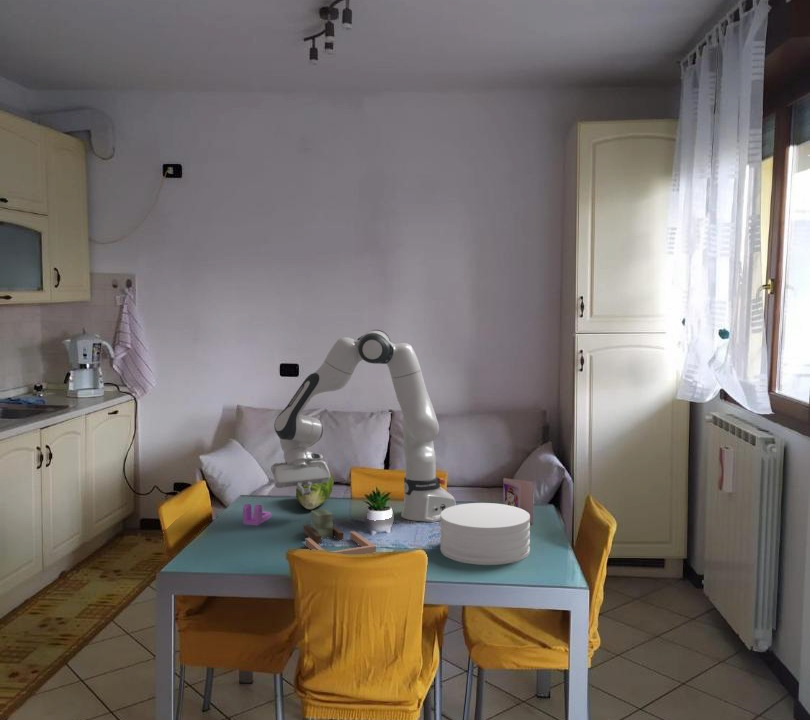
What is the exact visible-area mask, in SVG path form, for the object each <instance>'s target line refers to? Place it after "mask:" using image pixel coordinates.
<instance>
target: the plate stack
mask: <svg viewBox="0 0 810 720" xmlns="http://www.w3.org/2000/svg"><path fill="white" fill-rule="evenodd" d="M440 519H441V520H440V521H439V523H440V525H439V527H440V533H439V534H440V535H439V536H440V549H439V550H440V552H441V554H442V555H443V556H445V557H446V558H448V559H451V560H453V561H456V562H459V563H464V564H470V565H480V566H482V565H483V566H492V565H493V566H496V565H507V564H512V563H516V562H520V561H522V560H524V559H526V558H527V557H528V556H530V552H531V547H530V545H531V539H530V538H531V531H530V530H531V524H530V523H529V522H530V515H529V513H528V512H526V511H525V510H523V509H520V508H518V507H514V506H510V505H504V504H503V503H493V502H492V503H491V502H472V503H471V502H470V503H460V504H456V505H455V506H452V507H449V508H446V509H444V510H443V511H442V512H441V514H440Z"/></svg>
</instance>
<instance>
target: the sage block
mask: <svg viewBox="0 0 810 720" xmlns="http://www.w3.org/2000/svg"><path fill="white" fill-rule="evenodd" d="M310 515H311V516H310V517H311V518H310V519H311V521H310V522H311V526H310V527H311V528H312V529H313V530H315V531H316V532H317V533H318V534H319V535H321V538H326V539H328V538H327V537H333V538H334V536H333V525H334V524H333V513H332V512H330V511H329V510H328V509H326V508H322V509H312V510H310Z"/></svg>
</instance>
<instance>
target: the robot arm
mask: <svg viewBox="0 0 810 720" xmlns="http://www.w3.org/2000/svg"><path fill="white" fill-rule="evenodd" d="M361 361H364V362H366V363H369V364H379V365H382V364H383V365H386V366H387V368H388V371H389V373H390V378H391V381H392V384H393V388H394V391H395V395H396V398H397V402H398V405H399V407H400V410H401V413H402V418H401V419H402V436H403V448H404V449H403V450H404V458H405V459H404V464H405V466H404V468H405V469H404V470H405V471H404V477H403V479H404V480H403V489H404V491H403V492H404V499H403V505H402V510H401V514H400V516H401V518H403V519H406V520H409V521H418V522H427V523H435V522H441V519H440V514H441V512H442V511H443V510H444V509H446V508H449V507H452V506H455V505H457V503H456V499H455V497H454V496H453V495H452V494H451V493H449V492H448V490H445V489H444V488H443V487H441V485H445V484H446V482H447V481H446V479H445V478H442V477H441V478H439V477H437V475H436V474H437V470H436V468H437V467H436V465H437V463H436V461H437V458H436V451H435V444H434V440H436V438H437V437H438V435H439V432H440V425H439V421H438V418H437V417H438V416H437V415H436V412H435V409H434V406H433V403H432V401H431V398H430V395H429V392H428V390H427V386H426V383H425V379H424V375H423V372H422V368H421V365H420V361H419V358H418V357H417V354H416V351H415V350H414V348H413V346H412V345H411V344H410V343H407V342H397V343H393V342H391V339H390V337H389V335H388V334H387V333H386V332H384V331H383V330H381V329H380V330H379V329H371V330H370V331H367V332H366V333H364V334H363V335H361V336H360V337H359V338H357V339H353V338H352V337H348V336H347V337H346V336H342V337H340V338H339V339H337V341H336V342H334V344H333V346H332V347H331V348H330V350H329V352H328V353H327V355H326V357H325V359H324V361H323V363H322V364H321V365H320V367H319V368H318V369H317V370H316V371H315V372H313V373H311V374H309V375H308V376H307V377H306V378H305V379H304V380H303V382H302V383H301V385H300V386H299V388H298V389H297V391H296V392H295V393H294V395H293V396H292V397H291V399H290V400H289V402H288V404H287V405H286V406H285V408H284V409H283V410H281V412H280V413H279V414H278V415H277V417H276V418H275V421H274V425H273V427H274V431H275V433H276V435H277V436H278V438H279V444H280V447H281V449H282V452H283V458H284V462H280V463H279V462H278V463H274V464H272V465H271V467H270V472H271V473H272V475H273V483H274V487H275V488H277V489H281V488H282V489H283V488H290V487H296V488H297V489H298V490H299V491H301V493H302V495H310V494H311V490H310V488H311V485H312V484H319V483H327V482H328V481H329V479H330V476H331V475H332V474H331V475H330V473H331V472H330V470H329V466H328V465H327V462H325V460H323V459H324V456H323V454H321V453H317V452H316V453H315V452H312V451H308V448H310V447H312V446H313V445H315V444H317V442H319V441H320V440H321V438H322V437H323V433H324V429H323V428H324V427H323V423H322V422H321V420H320V419H319V418H316V417H313V416H309V415H304V414H302V412H303V411H304V409H305V408H306V407H307V405H308V404H309V402H310V401H311V400H312V398H313V397H315V396H316V395H319V394H323V393H328V392H335V391H339V390H342V389H344V388H345V387H346V385H347V384H348V383H349V381H350V379H351V378H352V375H353V373H354V372H355V369H356V367H357V366H358V364H359V363H360V362H361ZM301 485H306V486H307V487H308V488H307V489H304V488H303V487H302V486H301Z"/></svg>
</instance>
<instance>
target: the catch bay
mask: <svg viewBox="0 0 810 720" xmlns="http://www.w3.org/2000/svg"><path fill="white" fill-rule="evenodd" d="M349 533H350V534H349V535H350V538H351V539H352V540H354V541H355V542H356V543H357V544H356V543H355V542H354V541H353V542H354V543H355V544H356V545H358V544H359V545H360V546H361V547H360V546H359V545H358V546H359V547H350V548H345V549H339V550H332V551H330V552H335V553H342V554H366V553H373V552H376V553H377V550H376V548H377V547H376V545H374V544H373V543H372V542H371V541H369V540H368V539H366V538H365V537H364V536H362V535H361V534H360V533H358V532H356V530H353V531H350V532H349ZM350 538H349V539H350ZM304 539H305V541H304V543H305V547H306V548H307V547H308V548H309V549H308V548H307V549H308V550H310V549H316V550H323V551H326V550H325V549H324V548H322V546H320V544H317V543H316V542H314V541H313V540H312V539H311V538H309V537H306V538H304ZM351 539H350V540H351ZM352 540H351V541H352Z"/></svg>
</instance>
